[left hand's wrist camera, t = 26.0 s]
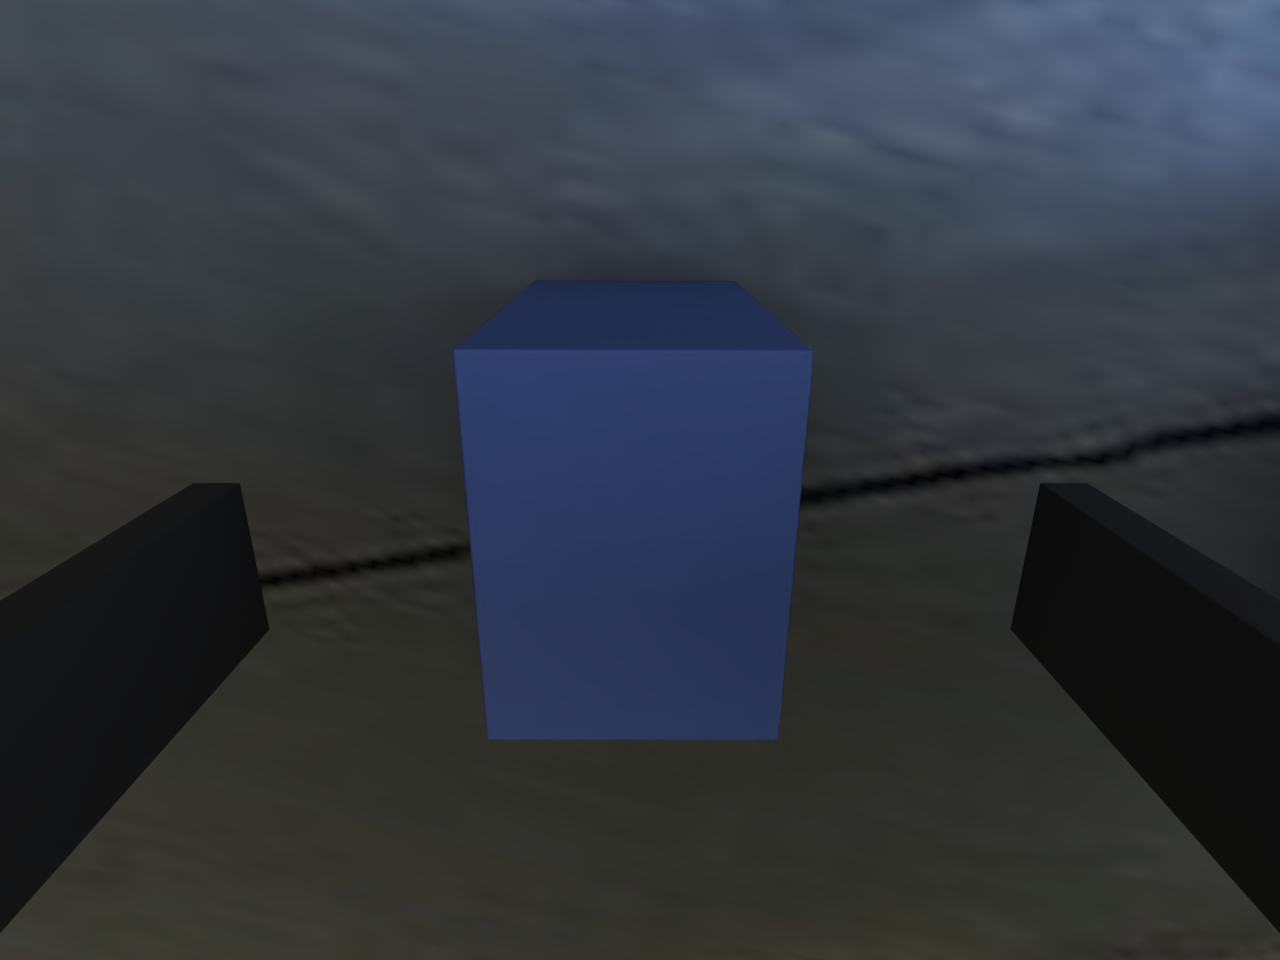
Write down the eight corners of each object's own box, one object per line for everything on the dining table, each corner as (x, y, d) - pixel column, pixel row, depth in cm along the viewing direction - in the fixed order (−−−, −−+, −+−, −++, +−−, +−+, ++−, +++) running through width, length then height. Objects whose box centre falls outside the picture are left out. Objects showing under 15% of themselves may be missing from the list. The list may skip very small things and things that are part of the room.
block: (735, 281, 18) (814, 350, 10) (723, 527, 20) (779, 741, 12) (534, 280, 18) (451, 349, 10) (546, 527, 20) (487, 741, 12)
